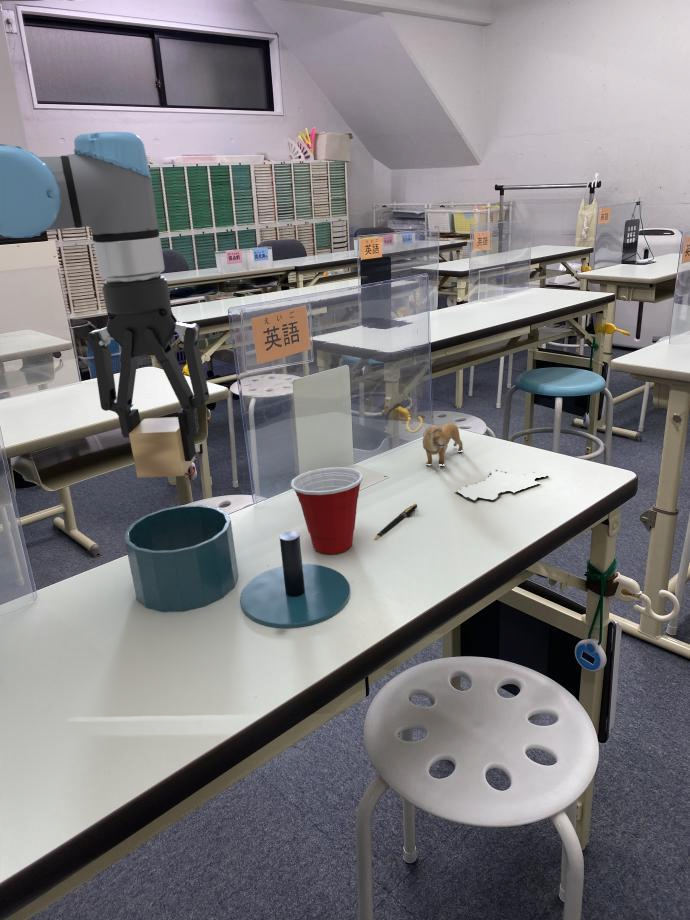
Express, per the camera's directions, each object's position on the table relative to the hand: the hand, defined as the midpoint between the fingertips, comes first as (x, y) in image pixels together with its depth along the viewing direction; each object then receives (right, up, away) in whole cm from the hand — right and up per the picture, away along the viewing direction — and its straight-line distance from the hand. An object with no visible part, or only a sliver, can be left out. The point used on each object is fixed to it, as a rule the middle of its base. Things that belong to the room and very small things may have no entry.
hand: (165, 458), depth 89 cm
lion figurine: (+43, -1, +46) cm, 63 cm away
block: (0, -1, +1) cm, 1 cm away
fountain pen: (+32, -11, +22) cm, 40 cm away
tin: (+1, -18, +8) cm, 20 cm away
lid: (+17, -19, +3) cm, 25 cm away
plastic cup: (+22, -14, +16) cm, 30 cm away
